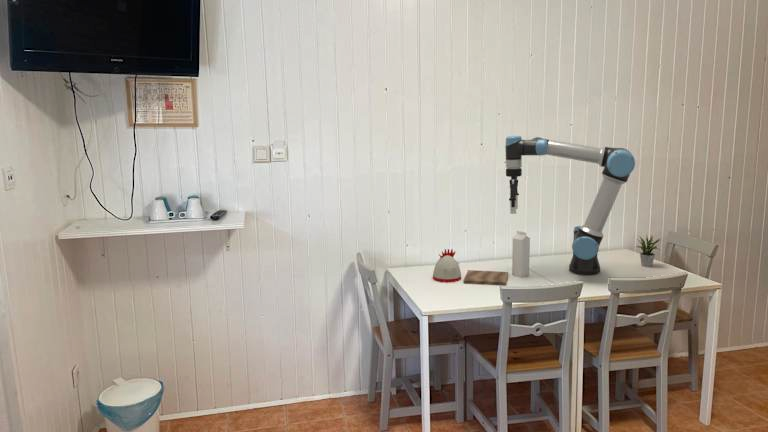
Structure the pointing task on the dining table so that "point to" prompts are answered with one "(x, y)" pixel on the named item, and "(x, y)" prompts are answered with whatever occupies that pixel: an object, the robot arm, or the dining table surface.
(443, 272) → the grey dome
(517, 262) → the milk
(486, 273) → the walnut board
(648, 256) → the house plant
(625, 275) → the dining table surface
